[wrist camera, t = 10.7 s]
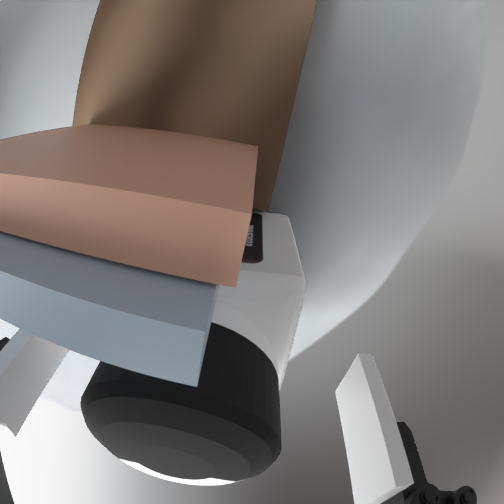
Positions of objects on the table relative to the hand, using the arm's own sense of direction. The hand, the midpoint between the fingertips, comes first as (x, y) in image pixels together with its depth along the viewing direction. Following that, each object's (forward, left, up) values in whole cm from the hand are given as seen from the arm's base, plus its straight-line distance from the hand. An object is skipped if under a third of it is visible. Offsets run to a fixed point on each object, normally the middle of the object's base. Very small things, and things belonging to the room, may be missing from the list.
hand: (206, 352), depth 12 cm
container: (0, 0, -8) cm, 8 cm away
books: (-4, +7, -6) cm, 10 cm away
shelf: (-4, +15, -7) cm, 17 cm away
